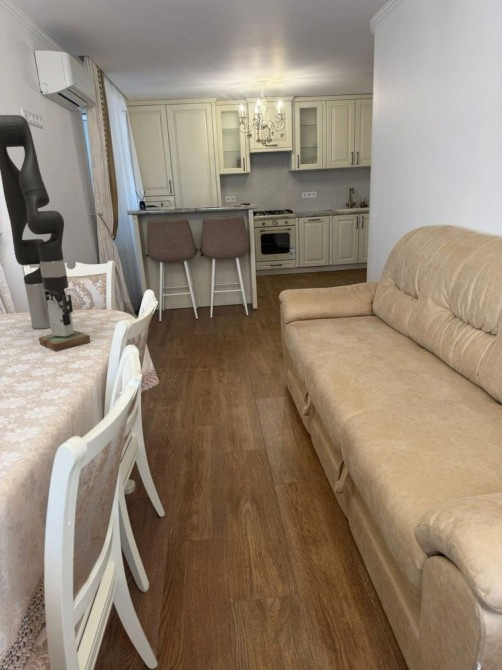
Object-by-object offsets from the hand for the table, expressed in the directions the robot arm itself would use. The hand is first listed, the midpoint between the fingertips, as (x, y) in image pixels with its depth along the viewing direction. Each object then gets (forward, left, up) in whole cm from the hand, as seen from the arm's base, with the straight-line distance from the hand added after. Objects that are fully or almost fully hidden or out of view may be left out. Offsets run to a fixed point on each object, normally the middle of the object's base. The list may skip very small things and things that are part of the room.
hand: (61, 322), depth 150 cm
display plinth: (0, 0, -7) cm, 7 cm away
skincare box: (0, 0, -4) cm, 4 cm away
